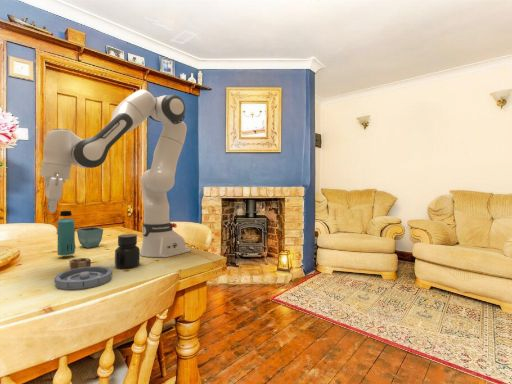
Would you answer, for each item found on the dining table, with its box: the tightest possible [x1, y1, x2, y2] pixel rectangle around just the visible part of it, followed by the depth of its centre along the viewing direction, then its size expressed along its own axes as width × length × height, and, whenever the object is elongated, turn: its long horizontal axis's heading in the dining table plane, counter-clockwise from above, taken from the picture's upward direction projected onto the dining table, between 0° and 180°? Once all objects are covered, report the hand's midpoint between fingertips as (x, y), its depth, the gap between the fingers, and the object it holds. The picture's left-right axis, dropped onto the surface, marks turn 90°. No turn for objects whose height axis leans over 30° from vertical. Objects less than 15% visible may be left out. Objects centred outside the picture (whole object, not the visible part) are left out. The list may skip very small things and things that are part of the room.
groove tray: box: [54, 265, 113, 291], centre depth 97 cm, size 16×16×3 cm
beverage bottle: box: [56, 210, 76, 257], centre depth 125 cm, size 6×7×20 cm
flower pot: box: [76, 226, 104, 249], centre depth 145 cm, size 9×9×9 cm
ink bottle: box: [114, 233, 141, 270], centre depth 115 cm, size 10×9×12 cm
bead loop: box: [68, 257, 92, 270], centre depth 109 cm, size 6×6×4 cm
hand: (51, 211), depth 105 cm, fingers open, 8 cm apart
